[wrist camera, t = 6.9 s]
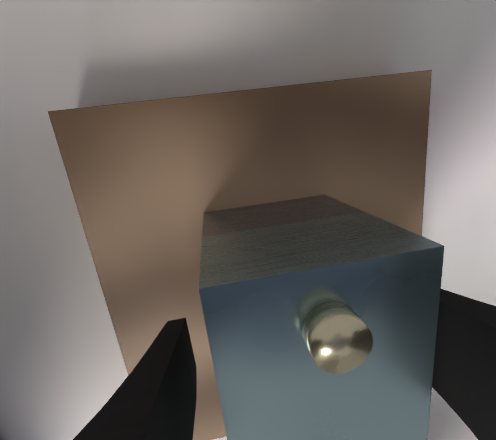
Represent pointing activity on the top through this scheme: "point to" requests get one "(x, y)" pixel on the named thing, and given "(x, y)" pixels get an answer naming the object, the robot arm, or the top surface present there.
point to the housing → (319, 321)
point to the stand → (229, 186)
